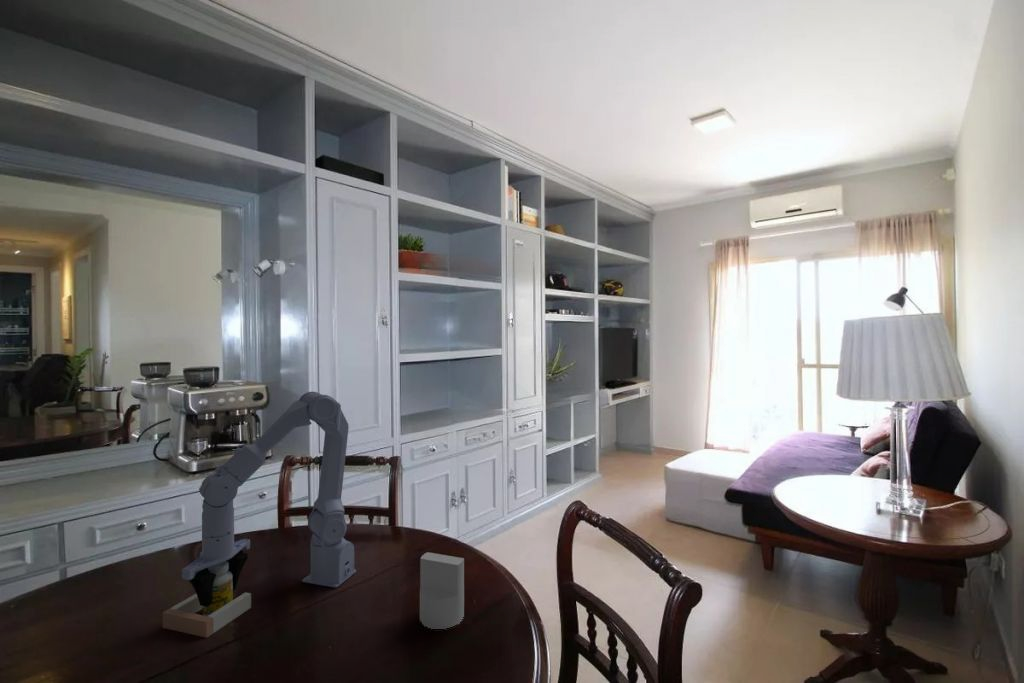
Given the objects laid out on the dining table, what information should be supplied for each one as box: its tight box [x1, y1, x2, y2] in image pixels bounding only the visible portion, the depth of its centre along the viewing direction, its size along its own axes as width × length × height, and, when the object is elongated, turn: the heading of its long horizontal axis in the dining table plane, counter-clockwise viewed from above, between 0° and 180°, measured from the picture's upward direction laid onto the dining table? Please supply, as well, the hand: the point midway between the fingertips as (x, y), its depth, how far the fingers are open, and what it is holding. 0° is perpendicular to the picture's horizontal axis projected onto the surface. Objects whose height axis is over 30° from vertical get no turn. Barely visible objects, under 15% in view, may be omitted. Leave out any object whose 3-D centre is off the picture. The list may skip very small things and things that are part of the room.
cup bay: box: [162, 591, 252, 638], centre depth 96 cm, size 11×10×3 cm
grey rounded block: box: [419, 552, 465, 630], centre depth 97 cm, size 9×9×12 cm
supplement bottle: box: [202, 561, 234, 616], centre depth 99 cm, size 5×5×10 cm
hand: (218, 597), depth 99 cm, fingers open, 5 cm apart
